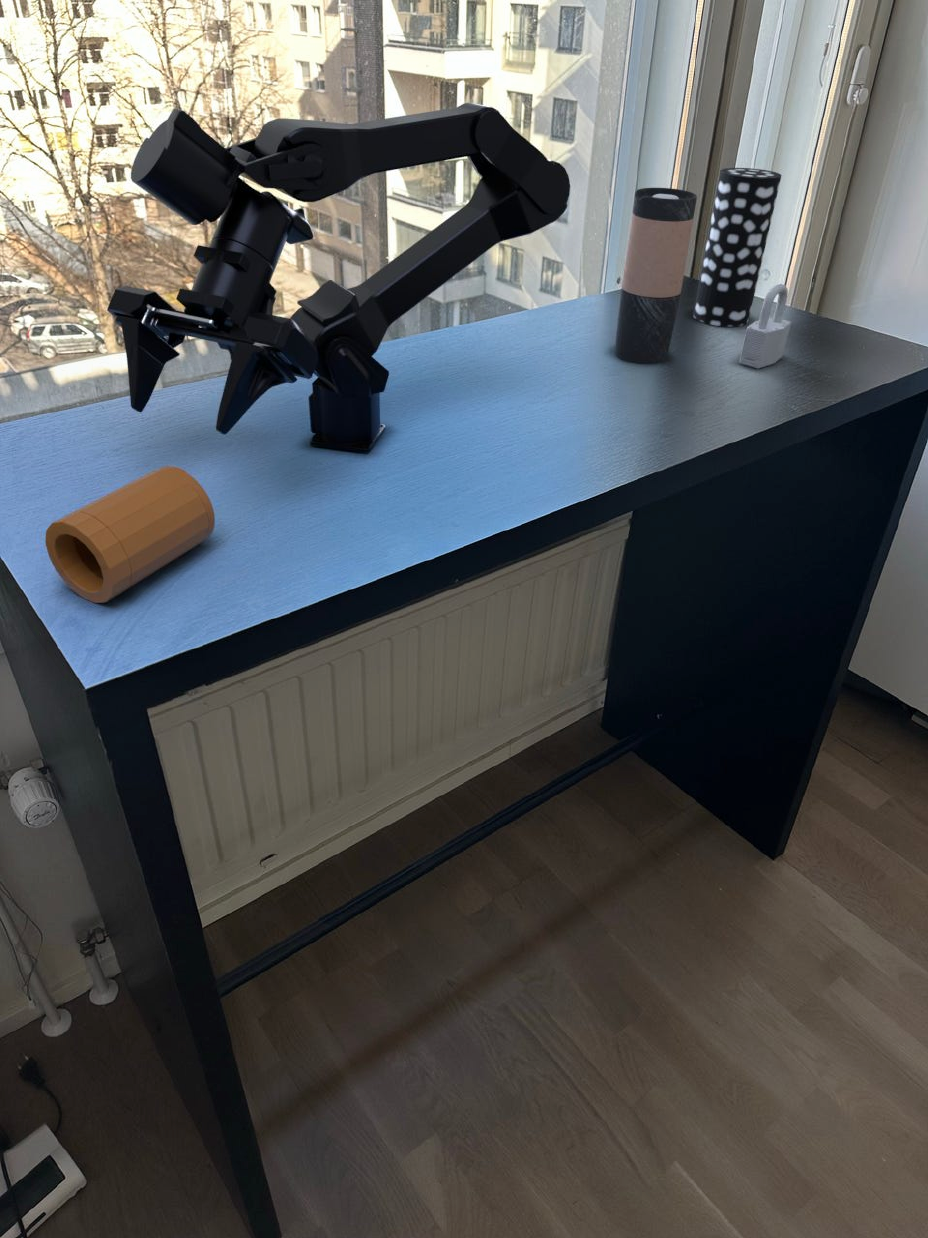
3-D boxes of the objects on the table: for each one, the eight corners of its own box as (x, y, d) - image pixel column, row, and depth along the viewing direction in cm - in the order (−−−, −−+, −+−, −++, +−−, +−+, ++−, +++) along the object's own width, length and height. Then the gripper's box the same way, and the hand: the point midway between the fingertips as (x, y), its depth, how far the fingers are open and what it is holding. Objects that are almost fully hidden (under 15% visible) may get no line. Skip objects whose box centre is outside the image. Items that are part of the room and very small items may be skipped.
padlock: (761, 370, 114) (780, 292, 108) (734, 362, 116) (751, 285, 110) (786, 358, 118) (806, 282, 112) (759, 351, 120) (777, 276, 114)
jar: (192, 460, 69) (82, 518, 61) (227, 537, 72) (126, 601, 64) (140, 470, 73) (31, 526, 65) (175, 543, 76) (74, 604, 68)
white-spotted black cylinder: (752, 315, 134) (785, 171, 122) (742, 330, 127) (776, 180, 116) (699, 306, 136) (726, 165, 125) (687, 320, 130) (714, 173, 118)
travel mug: (677, 353, 118) (707, 192, 106) (656, 369, 113) (684, 202, 101) (626, 341, 121) (649, 184, 109) (602, 356, 116) (624, 193, 104)
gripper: (369, 323, 80) (310, 479, 79) (208, 292, 86) (151, 435, 85) (316, 252, 70) (247, 429, 68) (137, 222, 76) (70, 384, 74)
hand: (177, 421), depth 74 cm, fingers open, 9 cm apart
